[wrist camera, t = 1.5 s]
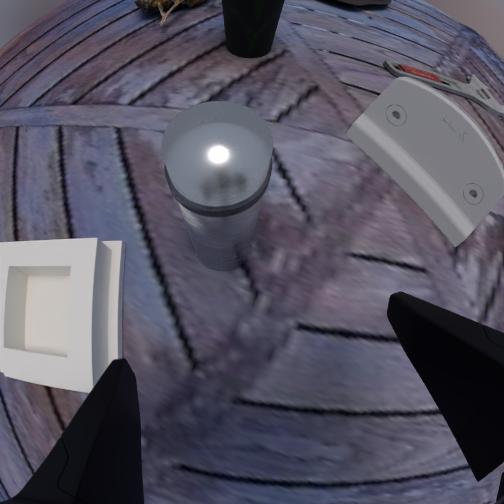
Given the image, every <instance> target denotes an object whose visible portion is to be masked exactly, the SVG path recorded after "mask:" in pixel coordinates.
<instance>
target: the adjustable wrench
mask: <svg viewBox="0 0 504 504" xmlns="http://www.w3.org/2000/svg"><path fill="white" fill-rule="evenodd" d="M384 66H385V67H386V68H387V69H388V70H389V71H390V72H391V73H392V74H393V75H395V76H397V77H410V78H413V79H415V80H418V81H420V82H423V83H425V84H427V85H429V86H432V87H435V88H439V89H442V90H445V91H449V92H452V93H455V94H458V95H461V96H464V97H467V98H469V99H472V100H474V101H475V102H477V103H478V104H480V105H481V106H482V107H484V108H485V109H486V110H487V111H488V112H489V113H490V114H492V115H493V116H494V117H496V118H499V119H502V118H503V117H504V105H503V106H501V105H500V104H499V103H498V102H497V101H496V100H495V99H494V97H493V96H492V95H491V94H490V92H489V91H488V90H487V89H489V88H488V87H487V86H486V85H484V84H483V83H481V82H480V81H479V79H478V78H477V77H476V76H475V75H474V74H473V76H472V77H469V76H468V77H467V79H468V80H469V81H468V84H464V83H461V82H459V81H456V80H454V79H451V78H448V77H446V76H443V75H440V74H438V73H435V72H432V71H429V70H426V69H423V68H420V67H417V66H413V65H409V64H405V63H402V62H398V61H393V60H389V59H386V60H385V62H384ZM395 67H398V68H397V69H398V70H397V69H396V68H395ZM441 81H443V82H446V83H448V84H450V85H451V86H449V85H446V84H443V83H442V82H441Z"/></svg>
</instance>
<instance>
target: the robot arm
mask: <svg viewBox="0 0 504 504" xmlns="http://www.w3.org/2000/svg"><path fill="white" fill-rule="evenodd" d="M387 317H388V320H389V322H390V324H391V326H392V327H393V329H394V331H395V333H396V335H397V337H398V339H399V342H400V344H401V346H402V348H403V349H404V351H405V353H406V355H407V356H408V358H409V360H410V361H411V363H412V364H413V366H414V368H415V369H416V371H417V373H418V374H419V376H420V378H421V379H422V381H423V382H424V384H425V386H426V387H427V389H428V391H429V393H430V394H431V396H432V398H433V399H434V401H435V403H436V405H437V406H438V408H439V410H440V412H441V413H442V415H443V417H444V419H445V420H446V422H447V424H448V426H449V428H450V429H451V431H452V433H453V435H454V437H455V439H456V441H457V443H458V445H459V446H460V448H461V450H462V452H463V454H464V456H465V458H466V460H467V462H468V464H469V466H470V468H471V470H472V472H473V474H474V476H475V478H476V480H477V481H478V482H479V481H480V480H482V479H483V478H484V477H486V476H487V475H488V474H489V473H491V472H492V471H493V470H494V469H496V468H497V467H498V466H499V465H501V464H502V463H503V462H504V333H503V332H500V331H497V330H495V329H492V328H490V327H488V326H485V325H482V324H480V323H478V322H475V321H473V320H471V319H468V318H466V317H463V316H461V315H458V314H456V313H454V312H451V311H449V310H446V309H444V308H441V307H439V306H436V305H434V304H431V303H429V302H426V301H424V300H421V299H419V298H416V297H414V296H411V295H409V294H406V293H404V292H397V293H394V294H392V295H391V296H390V298H389V304H388V309H387ZM61 436H62V437H60V438H59V440H58V441H57V443H56V444H55V446H54V447H53V449H52V450H51V452H50V453H49V455H48V456H47V458H46V459H45V460H44V462H43V463H42V464H41V466H40V467H39V468H38V469H37V471H36V472H35V473H34V475H33V476H32V477H31V478H30V480H29V481H28V482H27V484H26V485H25V486H24V488H23V489H22V490H21V491H20V492H19V493H18V494H17V495H16V496H14V497H13V498H11V499H8V500H6V501H2V502H0V504H144V493H143V479H142V459H141V421H140V411H139V403H138V393H137V383H136V377H135V374H134V372H133V371H132V369H131V367H130V365H129V364H128V362H127V360H126V359H124V358H120V359H114V360H112V361H111V363H110V364H109V366H108V367H107V369H106V370H105V371H104V373H103V374H102V376H101V377H100V379H99V380H98V381H97V383H96V384H95V386H94V387H93V389H92V390H91V392H90V393H89V394H88V396H87V397H86V399H85V400H84V402H83V403H82V405H81V406H80V408H79V409H78V411H77V412H76V414H75V415H74V417H73V418H72V420H71V421H70V423H69V424H68V426H67V427H66V429H65V430H64V432H63V434H62V435H61ZM494 504H504V472H503V473H502V476H501V481H500V486H499V490H498V495H497V499H496V503H494Z"/></svg>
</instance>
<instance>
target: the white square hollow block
mask: <svg viewBox="0 0 504 504" xmlns="http://www.w3.org/2000/svg"><path fill="white" fill-rule="evenodd" d="M125 248H126V244H125V243H124V242H123V241H100V240H99V239H98V238H83V239H60V240H39V241H20V242H2V243H0V372H3V373H4V376H7V377H10V378H14V379H18V380H23V381H27V382H32V383H36V384H41V385H46V386H51V387H56V388H62V389H68V390H74V391H80V392H87V393H90V392H91V390H92V389H93V387H94V386H95V384H96V383H97V381H98V380H99V379H100V377H101V376H102V374H103V373H104V371H105V370H106V369H107V367H108V366H109V364H110V363H111V361H112V360H114V359H120V358H122V304H123V279H124V262H125Z"/></svg>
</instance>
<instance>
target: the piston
mask: <svg viewBox="0 0 504 504" xmlns="http://www.w3.org/2000/svg"><path fill="white" fill-rule="evenodd" d="M161 148H162V155H163V159H164V162H165V175H166V179H167V182H168V185H169V188H170V190H171V192H172V194H173V196H174V197H175V199H176V200H177V201H178V204H179V207H180V210H181V213H182V216H183V219H184V222H185V225H186V228H187V230H188V233H189V236H190V239H191V242H192V244H193V247H194V250H195V253H196V255H197V257H198V258H199V260H200V261H201V262H202V263H203V264H204V265H205V266H207V267H209V268H211V269H214V270H218V271H228V270H232V269H235V268H237V267H238V266H240V265H241V264H243V263H244V262H245V260H246V259H247V258H248V256H249V254H250V252H251V248H252V244H253V239H254V235H255V230H256V225H257V221H258V216H259V211H260V207H261V202H262V197H263V194H264V193H265V191H266V189H267V187H268V184H269V180H270V176H271V171H272V157H271V156H272V151H273V136H272V132H271V130H270V128H269V126H268V124H267V123H266V121H265V120H264V119H263V118H262V117H261V116H260V115H259V114H258V113H256V112H255V111H253V110H252V109H250V108H248V107H246V106H244V105H241V104H237V103H233V102H226V101H213V102H206V103H202V104H198V105H196V106H193V107H191V108H189V109H187V110H185V111H183V112H182V113H180V114H179V115H178V116H177V117H176V118H175V119H174V120H173V121H172V122H171V123H170V124H169V126H168V127H167V129H166V131H165V133H164V135H163V139H162V147H161Z"/></svg>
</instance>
